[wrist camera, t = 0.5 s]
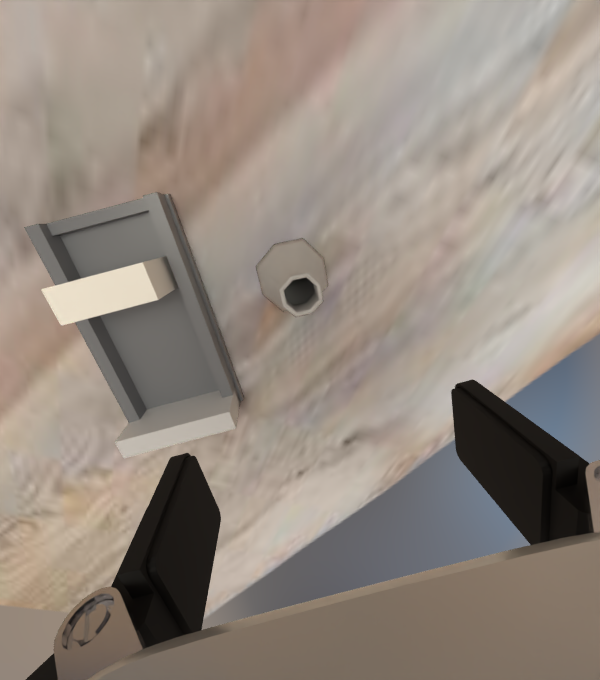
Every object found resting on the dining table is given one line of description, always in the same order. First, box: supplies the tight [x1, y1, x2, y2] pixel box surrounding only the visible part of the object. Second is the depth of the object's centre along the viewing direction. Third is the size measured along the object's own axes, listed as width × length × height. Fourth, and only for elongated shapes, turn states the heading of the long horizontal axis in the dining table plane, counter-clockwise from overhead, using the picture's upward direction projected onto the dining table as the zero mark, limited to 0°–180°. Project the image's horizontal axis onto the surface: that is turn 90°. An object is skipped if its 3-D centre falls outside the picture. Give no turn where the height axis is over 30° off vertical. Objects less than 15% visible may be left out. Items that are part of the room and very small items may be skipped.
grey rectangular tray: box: [24, 192, 244, 458], centre depth 29 cm, size 22×12×6 cm, turn 14°
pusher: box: [41, 256, 178, 326], centre depth 27 cm, size 3×8×6 cm, turn 104°
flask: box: [256, 238, 328, 317], centre depth 27 cm, size 7×7×10 cm
